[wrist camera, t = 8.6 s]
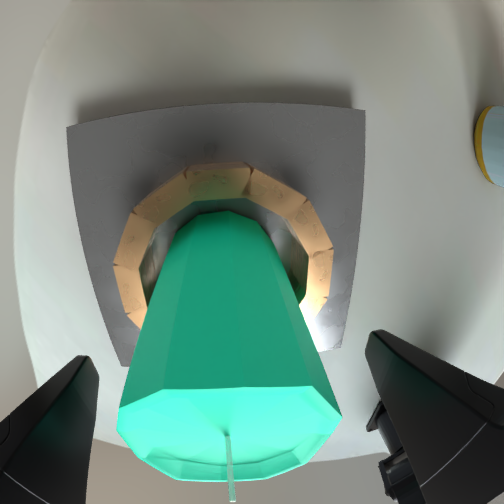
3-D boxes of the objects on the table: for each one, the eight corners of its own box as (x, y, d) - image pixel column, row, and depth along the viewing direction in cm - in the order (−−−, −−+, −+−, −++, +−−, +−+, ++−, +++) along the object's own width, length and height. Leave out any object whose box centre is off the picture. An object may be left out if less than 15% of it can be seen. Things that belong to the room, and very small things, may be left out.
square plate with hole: (333, 335, 21) (356, 375, 17) (125, 352, 19) (113, 397, 15) (353, 111, 15) (396, 107, 10) (78, 127, 13) (36, 127, 9)
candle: (232, 324, 17) (252, 522, 6) (147, 273, 15) (79, 486, 4) (298, 253, 16) (403, 460, 5) (209, 186, 13) (173, 425, 3)
